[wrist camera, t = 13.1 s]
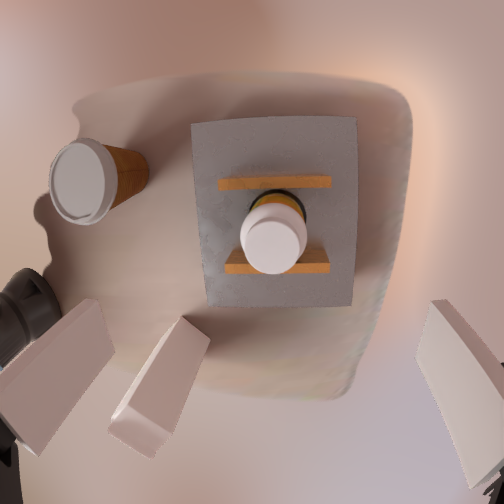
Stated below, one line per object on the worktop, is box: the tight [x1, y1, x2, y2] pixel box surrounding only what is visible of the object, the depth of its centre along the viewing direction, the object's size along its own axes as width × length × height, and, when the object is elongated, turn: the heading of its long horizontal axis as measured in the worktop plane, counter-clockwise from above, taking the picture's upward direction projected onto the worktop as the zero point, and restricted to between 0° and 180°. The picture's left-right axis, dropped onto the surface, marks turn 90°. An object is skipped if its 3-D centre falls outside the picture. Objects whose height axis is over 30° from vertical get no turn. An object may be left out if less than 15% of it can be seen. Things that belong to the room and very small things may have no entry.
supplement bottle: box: [240, 193, 307, 274], centre depth 24 cm, size 5×5×10 cm
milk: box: [108, 316, 211, 460], centre depth 33 cm, size 6×6×22 cm
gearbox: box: [191, 116, 358, 307], centre depth 30 cm, size 17×21×10 cm
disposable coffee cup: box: [49, 138, 149, 225], centre depth 30 cm, size 10×10×12 cm
